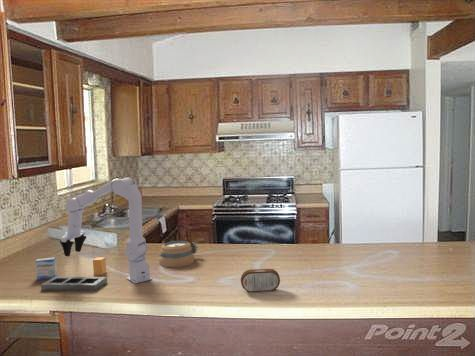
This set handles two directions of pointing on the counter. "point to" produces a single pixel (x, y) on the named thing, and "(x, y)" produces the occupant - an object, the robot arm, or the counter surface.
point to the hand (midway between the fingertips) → (72, 253)
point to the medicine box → (46, 268)
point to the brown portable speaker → (260, 280)
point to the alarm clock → (177, 253)
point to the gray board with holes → (74, 284)
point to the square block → (99, 266)
